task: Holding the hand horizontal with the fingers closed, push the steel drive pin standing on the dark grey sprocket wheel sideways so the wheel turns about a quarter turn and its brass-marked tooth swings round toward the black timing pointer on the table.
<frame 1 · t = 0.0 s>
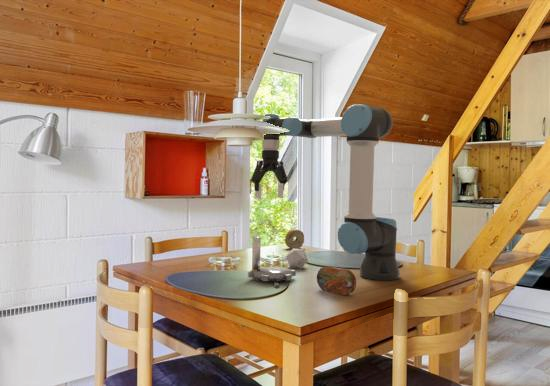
hand: (269, 198, 214), 28 cm above the table, tool pointing down, fingers open, 13 cm apart
die: (296, 267, 203), on the table
sprocket: (272, 257, 179), point 8 cm above the table, hinge at 0.0°
tin: (336, 293, 162), on the table
timing pointer: (276, 286, 169), on the table
stone disc: (294, 248, 252), on the table
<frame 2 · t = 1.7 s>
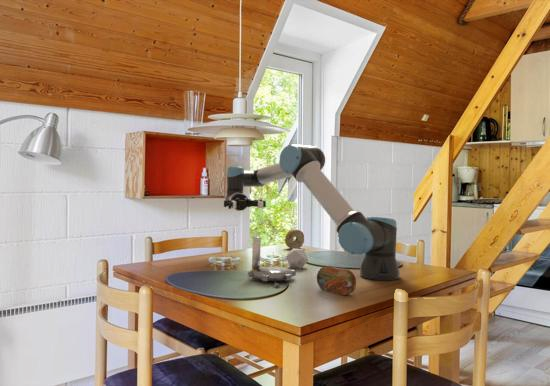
hand: (248, 205, 195), 26 cm above the table, tool horizontal, fingers open, 10 cm apart
nothing on the table moved.
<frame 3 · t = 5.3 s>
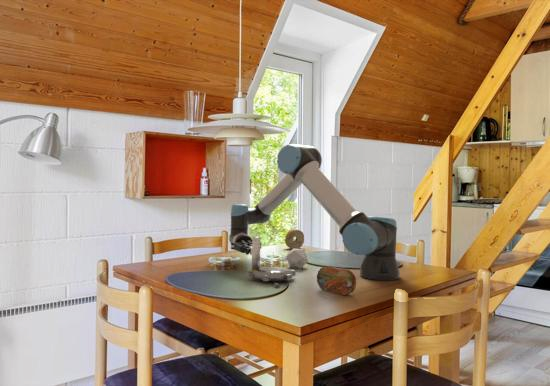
hand: (254, 252, 182), 9 cm above the table, tool horizontal, fingers closed
sprocket: (272, 257, 179), point 8 cm above the table, hinge at 2.1°, touching gripper
everything else where it was.
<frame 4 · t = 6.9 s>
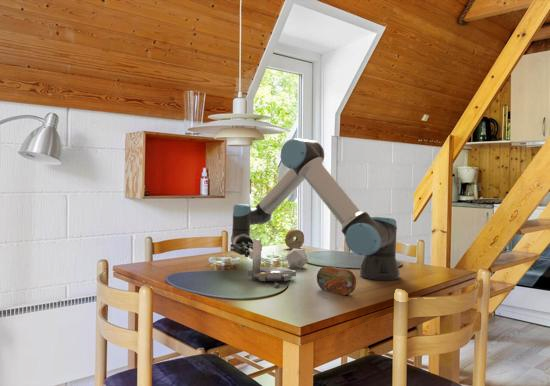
hand: (252, 255, 176), 9 cm above the table, tool horizontal, fingers closed
sprocket: (272, 257, 179), point 8 cm above the table, hinge at 53.4°, touching gripper
everything else where it was.
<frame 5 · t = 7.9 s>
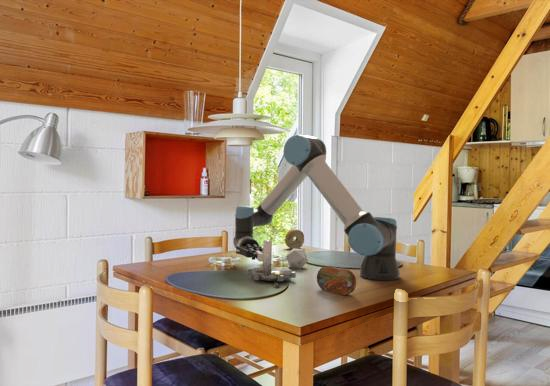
hand: (261, 257, 172), 9 cm above the table, tool horizontal, fingers closed
sprocket: (272, 257, 179), point 8 cm above the table, hinge at 97.0°, touching gripper
everything else where it was.
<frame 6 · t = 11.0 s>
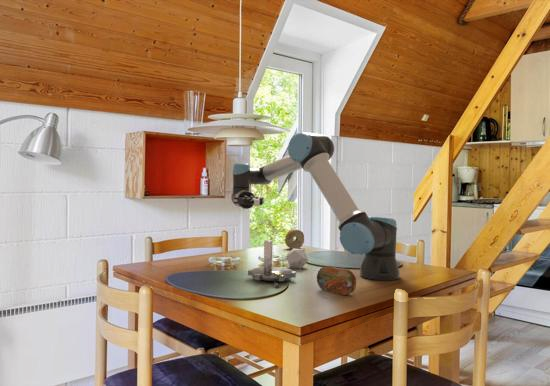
hand: (257, 202, 187), 28 cm above the table, tool horizontal, fingers closed
sprocket: (272, 257, 179), point 8 cm above the table, hinge at 99.3°
everything else where it was.
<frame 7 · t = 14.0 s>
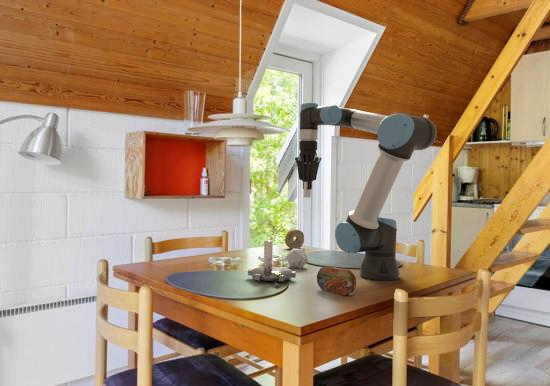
hand: (307, 197, 202), 29 cm above the table, tool pointing down, fingers closed
nothing on the table moved.
at the end: sprocket at +99° (first picture: +0°) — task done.
